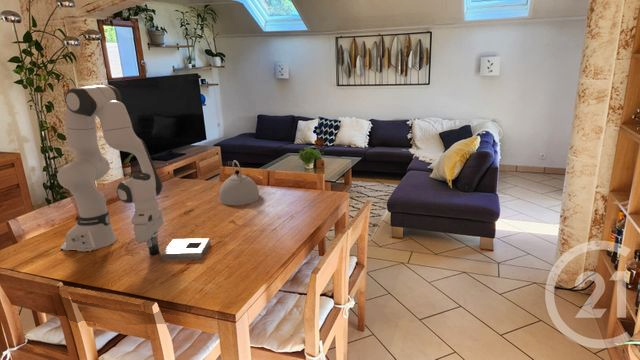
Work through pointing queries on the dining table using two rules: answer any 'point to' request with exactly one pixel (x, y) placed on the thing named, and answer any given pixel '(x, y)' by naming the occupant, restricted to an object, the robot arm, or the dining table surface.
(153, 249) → the flashlight
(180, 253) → the jig
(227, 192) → the grey dome pendant lamp
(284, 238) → the dining table surface
